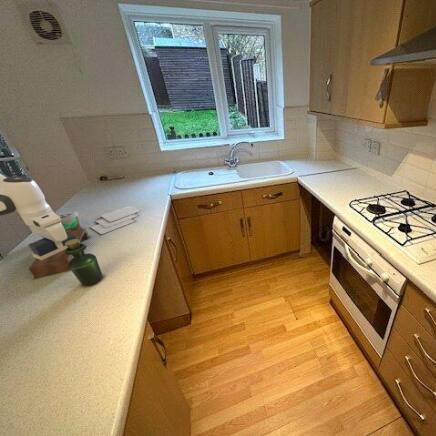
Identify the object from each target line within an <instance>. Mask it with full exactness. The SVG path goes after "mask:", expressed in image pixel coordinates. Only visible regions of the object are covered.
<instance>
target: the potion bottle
mask: <svg viewBox="0 0 436 436" xmlns="http://www.w3.org/2000/svg"><path fill="white" fill-rule="evenodd" d="M65 245H66V246H67V247H68V248H67V249H66V250H65V252H66V254H67V255H72V257H73V258H71V259H70V261H69V265H68V267H69V268H70V269H71V270H70V271H71V272H72V274H73V275H74V276H75V277H76V279H77V280H78V281H79V283H80V284H81V285H82V286H83V287H91V286H95V285H97V284H98V283H100V282H102V279H103V278H104V277H103V276H104V275H103V273H102V270H101V267H100V264H99V261H98V258H97V256H96V255H95V254H93V253H85V250H86V249H87V245H85V244H84V243H82V242H80V243H79V240H78V239H73V240H70V241H68V242H66V243H65Z"/></svg>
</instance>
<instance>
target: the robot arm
mask: <svg viewBox="0 0 436 436" xmlns="http://www.w3.org/2000/svg"><path fill="white" fill-rule="evenodd" d="M14 212H15V213H16V212H17V213H18V214H19V216H20V218H21V219H22V221H23V222H24V224H25V225H26V226H28V227H29V230H30V231H31V232H32V233H33V234H34V235H36V236H39V237H41V239H43V238H47V239H49V240H52V241H54V242H55V246H56V247H57V248H61V247H63V244H62V241H64V240H66V239H67V234H66V232H65V229H64V227H63V225H62V224H61V223H60V221H61V218H60V217H59V216H60V215H58V214H57V213H55V212H54V210H53V209H52V207H51V206H50V205H49V203H48V202H47V201H46V196H45V194H44V193H43V191H42V189H41V188H40V186H39V184H37V182H36V181H35V180H34V179H32V178H31V177H29V176H22V175H20V176H19V175H17V176H8V175H7V174H5V173H4V172H1V171H0V216H1V217H2V216H4V215H9V214H12V213H14Z"/></svg>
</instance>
